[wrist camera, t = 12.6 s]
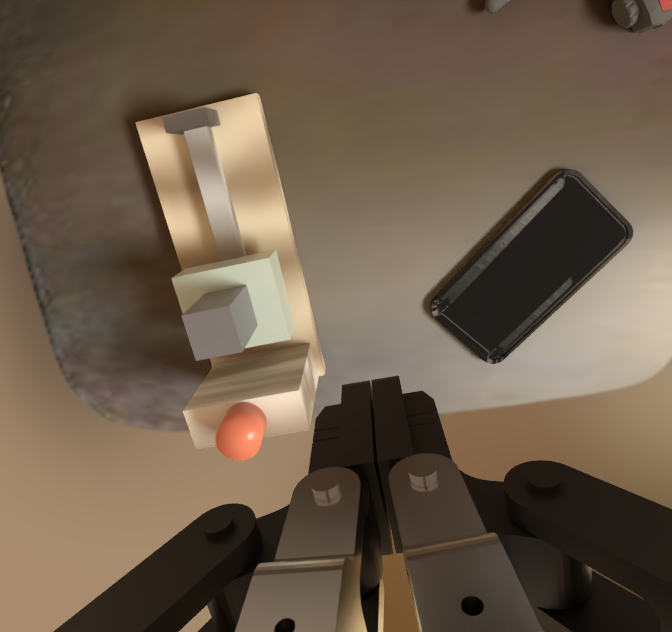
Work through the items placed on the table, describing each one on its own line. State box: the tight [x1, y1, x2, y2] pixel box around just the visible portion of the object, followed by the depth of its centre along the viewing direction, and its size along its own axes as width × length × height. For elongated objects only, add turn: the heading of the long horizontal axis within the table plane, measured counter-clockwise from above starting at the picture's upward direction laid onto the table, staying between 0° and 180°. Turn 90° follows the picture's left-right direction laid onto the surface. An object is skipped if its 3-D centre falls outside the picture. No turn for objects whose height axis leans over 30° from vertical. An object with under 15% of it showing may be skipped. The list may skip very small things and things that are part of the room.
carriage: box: [171, 250, 295, 361], centre depth 34 cm, size 6×7×8 cm
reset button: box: [215, 403, 267, 461], centre depth 32 cm, size 3×3×2 cm
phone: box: [431, 169, 633, 364], centre depth 40 cm, size 8×1×15 cm
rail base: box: [135, 93, 325, 449], centre depth 36 cm, size 22×9×10 cm, turn 12°
